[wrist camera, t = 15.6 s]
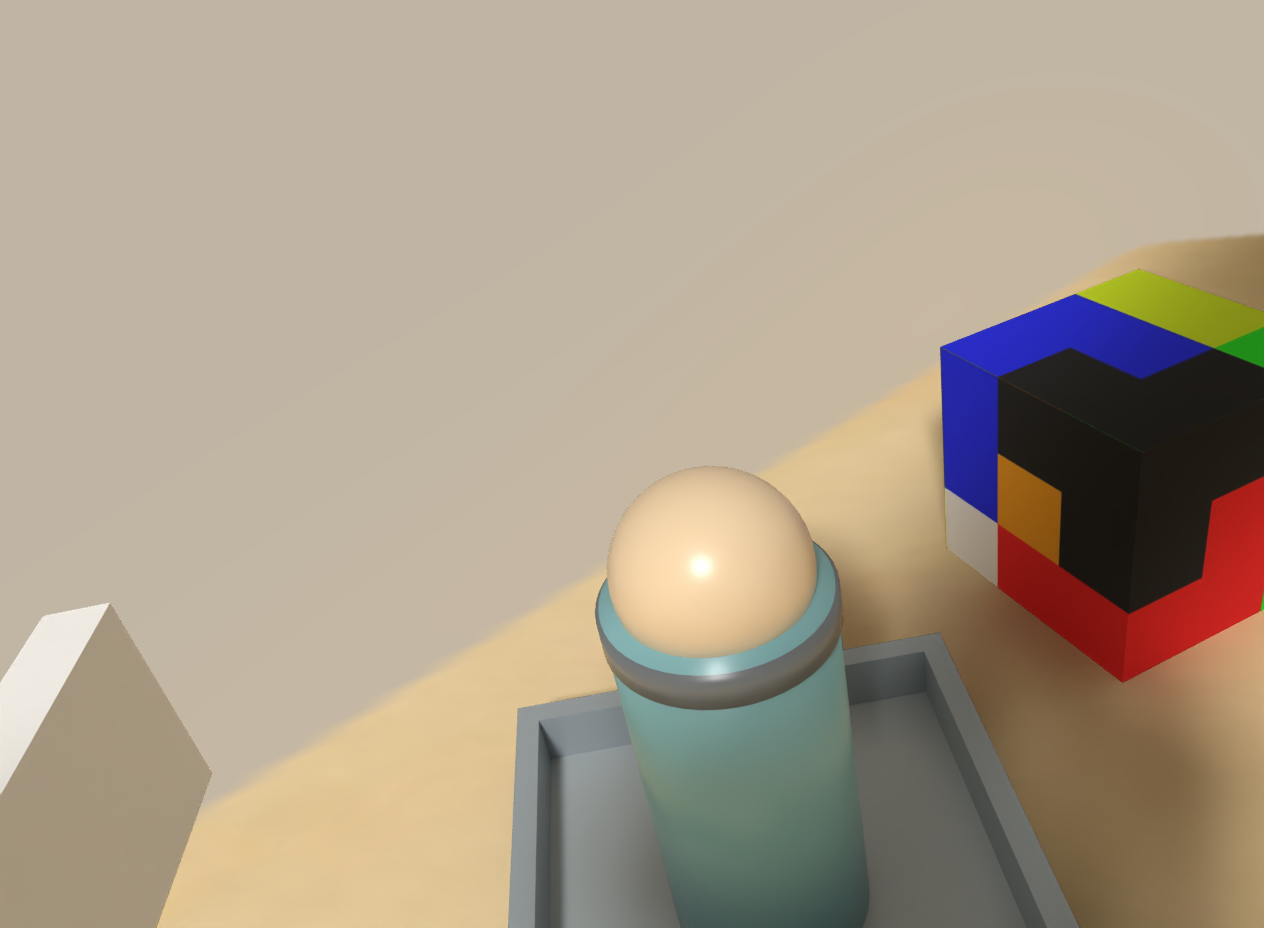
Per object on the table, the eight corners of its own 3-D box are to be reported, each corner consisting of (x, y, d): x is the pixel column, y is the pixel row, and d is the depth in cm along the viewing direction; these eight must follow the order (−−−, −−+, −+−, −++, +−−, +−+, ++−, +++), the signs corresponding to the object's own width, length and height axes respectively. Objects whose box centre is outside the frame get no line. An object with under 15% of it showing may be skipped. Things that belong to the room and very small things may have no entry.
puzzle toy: (946, 549, 46) (940, 347, 41) (1123, 469, 49) (1138, 269, 44) (1122, 683, 38) (1142, 452, 33) (1324, 579, 41) (1372, 348, 35)
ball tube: (848, 796, 35) (800, 399, 27) (896, 967, 30) (854, 535, 22) (665, 825, 35) (568, 443, 28) (680, 1000, 30) (565, 586, 22)
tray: (941, 688, 39) (939, 632, 38) (1138, 1129, 26) (1146, 1068, 25) (535, 760, 40) (517, 708, 39) (524, 1226, 27) (497, 1172, 25)
